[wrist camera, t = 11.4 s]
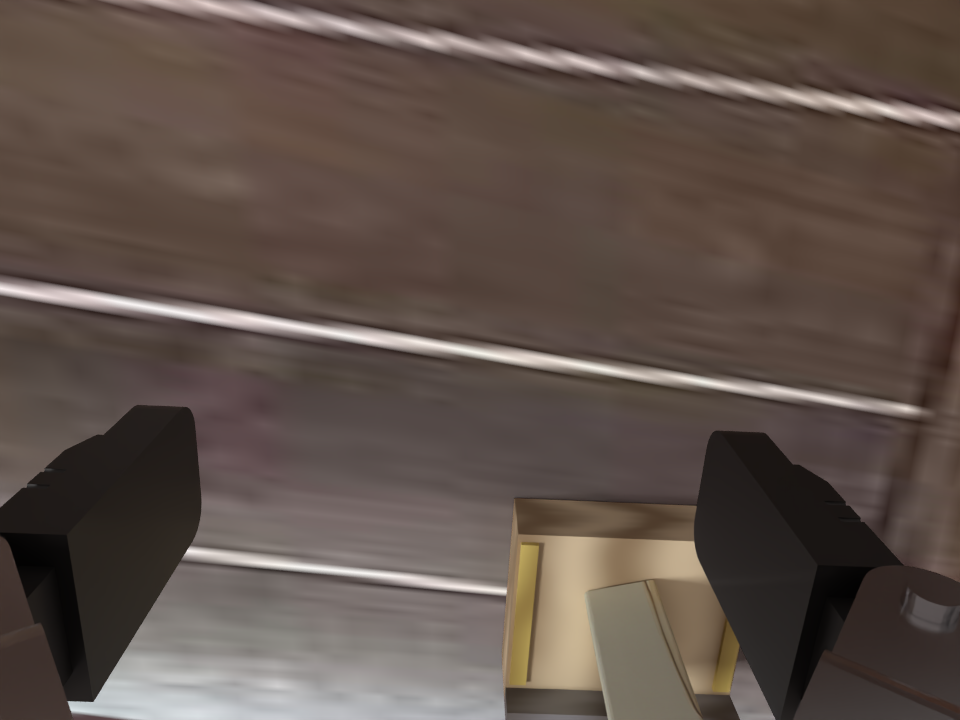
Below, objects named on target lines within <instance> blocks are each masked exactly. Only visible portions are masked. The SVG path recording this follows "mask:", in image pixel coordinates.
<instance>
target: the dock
mask: <svg viewBox="0 0 960 720" xmlns="http://www.w3.org/2000/svg"><path fill="white" fill-rule="evenodd" d="M696 508H697V506H690V505H666V504H642V503H619V502H595V501H571V500H547V499H523V498H514V510H513V522H512V535H511V547H510V559H509V572H508V584H507V597H506V609H505V622H504V634H503V647H502V666H503V684H504V702H505V720H608V717H607V712H606V706H605V701H604V696H603V691H602V686H601V681H600V676H599V671H598V666H597V661H596V656H595V650H594V645H593V640H592V635H591V630H590V625H589V620H588V614H587V609H586V603H585V597H584V594H585V592H587V591H591V590H597V589H602V588H608V587H613V586H619V585H624V584H631V583H636V582H642V581H648V580H654V581H655V583H656V586H657V589H658V592H659V594H660V597H661V600H662V603H663V605H664V608H665V611H666V614H667V617H668V620H669V622H670V625H671V628H672V631H673V634H674V637H675V639H676V642H677V645H678V648H679V651H680V654H681V657H682V660H683V662H684V665H685V668H686V671H687V674H688V677H689V679H690V682H691V685H692V688H693V691H694V694H695V697H696V700H697V702H698V705H699V708H700V711H701V714H702V717H703V720H740V719H739V716H738V714H737V712H736V709H735V707H734V705H733V702H732V700H731V698H730V690H731V686H732V681H733V676H734V672H735V667H736V662H737V658H738V653H739V648H740V645H739V643H738V641H737V639H736V636H735V634H734V632H733V630H732V628H731V626H730V624H729V622H728V620H727V618H726V616H725V614H724V612H723V610H722V608H721V605H720V603H719V601H718V599H717V597H716V595H715V593H714V591H713V589H712V587H711V585H710V583H709V581H708V579H707V577H706V574H705V572H704V570H703V568H702V566H701V564H700V562H699V560H698V557H697V554H696V549H695V543H694V520H695V513H696Z"/></svg>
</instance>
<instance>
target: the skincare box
mask: <svg viewBox="0 0 960 720" xmlns="http://www.w3.org/2000/svg"><path fill="white" fill-rule="evenodd" d="M584 597H585V603H586V609H587V614H588V620H589V625H590V630H591V635H592V640H593V645H594V650H595V656H596V661H597V666H598V671H599V676H600V681H601V686H602V691H603V696H604V701H605V706H606V712H607V717H608V720H703V717H702V714H701V711H700V708H699V705H698V702H697V700H696V697H695V694H694V691H693V688H692V685H691V682H690V679H689V677H688V674H687V671H686V668H685V665H684V662H683V660H682V657H681V654H680V651H679V648H678V645H677V642H676V639H675V637H674V634H673V631H672V628H671V625H670V622H669V620H668V617H667V614H666V611H665V608H664V605H663V603H662V600H661V597H660V594H659V592H658V589H657V586H656V583H655V581H654V580H648V581H642V582H636V583H631V584H624V585H619V586H613V587H608V588H602V589H597V590H591V591H587V592H585V594H584Z"/></svg>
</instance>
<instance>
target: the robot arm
mask: <svg viewBox="0 0 960 720" xmlns="http://www.w3.org/2000/svg"><path fill="white" fill-rule="evenodd" d="M845 503H846V502H845V501H844V499H843V498H842V497H841V496H840V495H839V494H838V493H837V492H836V491H835V490H834V488H833V487H832V486H831V485H830V484H829V483H828V482H827V481H825V480H823V479H822V478H820V477H818V476H817V475H815V474H813V473H812V472H810V471H809V470H807V469H805V468H804V467H802V466H800V465H793V464H792V463H791V462H790V461H789V460H788V459H787V457H786V456H785V455H784V454H783V453H782V452H781V450H780V449H779V448H778V447H777V446H776V445H775V443H774V442H773V441H772V440H771V439H770V438H769V436H768V435H767V434H765V433H759V432H736V431H714V432H713V433H712V435H711V436H710V439H709V441H708V445H707V449H706V455H705V461H704V467H703V473H702V479H701V484H700V490H699V496H698V502H697V508H696V513H695V520H694V543H695V549H696V554H697V557H698V560H699V562H700V564H701V566H702V568H703V570H704V572H705V574H706V577H707V579H708V581H709V583H710V585H711V587H712V589H713V591H714V593H715V595H716V597H717V599H718V601H719V603H720V605H721V608H722V610H723V612H724V614H725V616H726V618H727V620H728V622H729V624H730V626H731V628H732V630H733V632H734V634H735V636H736V639H737V641H738V643H739V645H740V647H741V649H742V651H743V653H744V655H745V657H746V659H747V661H748V663H749V665H750V667H751V669H752V672H753V674H754V676H755V678H756V680H757V682H758V684H759V686H760V688H761V690H762V692H763V694H764V696H765V698H766V700H767V703H768V705H769V707H770V709H771V711H772V713H773V715H774V717H775V719H776V720H960V583H959V582H957V581H955V580H953V579H951V578H948V577H945V576H943V575H940V574H938V573H934V572H931V571H928V570H924V569H920V568H915V567H909V566H904V565H903V564H902V563H901V562H900V561H899V560H898V559H897V558H896V557H895V555H894V554H893V553H892V552H891V551H890V550H889V549H888V548H887V547H886V546H885V544H884V543H883V542H882V541H881V540H880V539H879V538H878V537H877V536H876V535H875V533H874V532H873V531H872V530H871V529H870V528H869V527H868V526H867V525H866V524H865V522H861V521H860V517H859V516H858V515H857V514H856V513H855V512H854V510H853V509H852V508H851V507H850V506H846V504H845ZM200 515H201V488H200V477H199V465H198V453H197V442H196V430H195V421H194V417H193V414H192V412H191V410H190V409H189V408H187V407H172V406H148V405H136V406H134V407H133V408H132V409H131V410H130V411H129V412H128V413H126V414H125V415H124V416H123V417H122V418H121V419H120V420H119V421H118V422H117V423H116V424H115V425H114V426H113V427H112V428H111V429H109V430H108V431H107V432H106V433H105V434H104V435H96V436H94V437H91V438H89V439H87V440H85V441H83V442H81V443H79V444H77V445H75V446H73V447H70V448H68V449H66V450H65V451H64V452H62V453H61V454H60V455H59V456H58V457H57V458H56V459H55V460H53V461H52V462H51V463H50V464H49V465H48V466H47V467H46V468H45V471H44V472H40V473H39V474H38V475H37V476H35V477H34V478H33V479H32V480H31V481H30V482H29V483H28V484H27V488H22V489H21V490H20V491H19V492H17V493H16V494H15V495H14V496H13V497H12V498H11V499H9V500H8V501H7V502H6V503H5V504H4V505H3V506H2V507H0V720H73V717H72V714H71V711H70V708H69V705H68V702H67V701H82V702H94V700H95V698H96V697H97V695H98V694H99V692H100V690H101V689H102V687H103V685H104V684H105V682H106V681H107V679H108V677H109V676H110V674H111V672H112V671H113V669H114V668H115V666H116V664H117V663H118V661H119V659H120V658H121V656H122V655H123V653H124V651H125V650H126V648H127V647H128V645H129V643H130V642H131V640H132V638H133V637H134V635H135V634H136V632H137V630H138V629H139V627H140V625H141V624H142V622H143V621H144V619H145V617H146V616H147V614H148V613H149V611H150V609H151V608H152V606H153V604H154V603H155V601H156V600H157V598H158V596H159V595H160V593H161V591H162V590H163V588H164V587H165V585H166V583H167V582H168V580H169V578H170V577H171V575H172V574H173V572H174V570H175V569H176V567H177V566H178V564H179V562H180V561H181V559H182V557H183V556H184V554H185V553H186V551H187V549H188V548H189V546H190V544H191V543H192V541H193V539H194V537H195V535H196V532H197V529H198V526H199V521H200Z"/></svg>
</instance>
